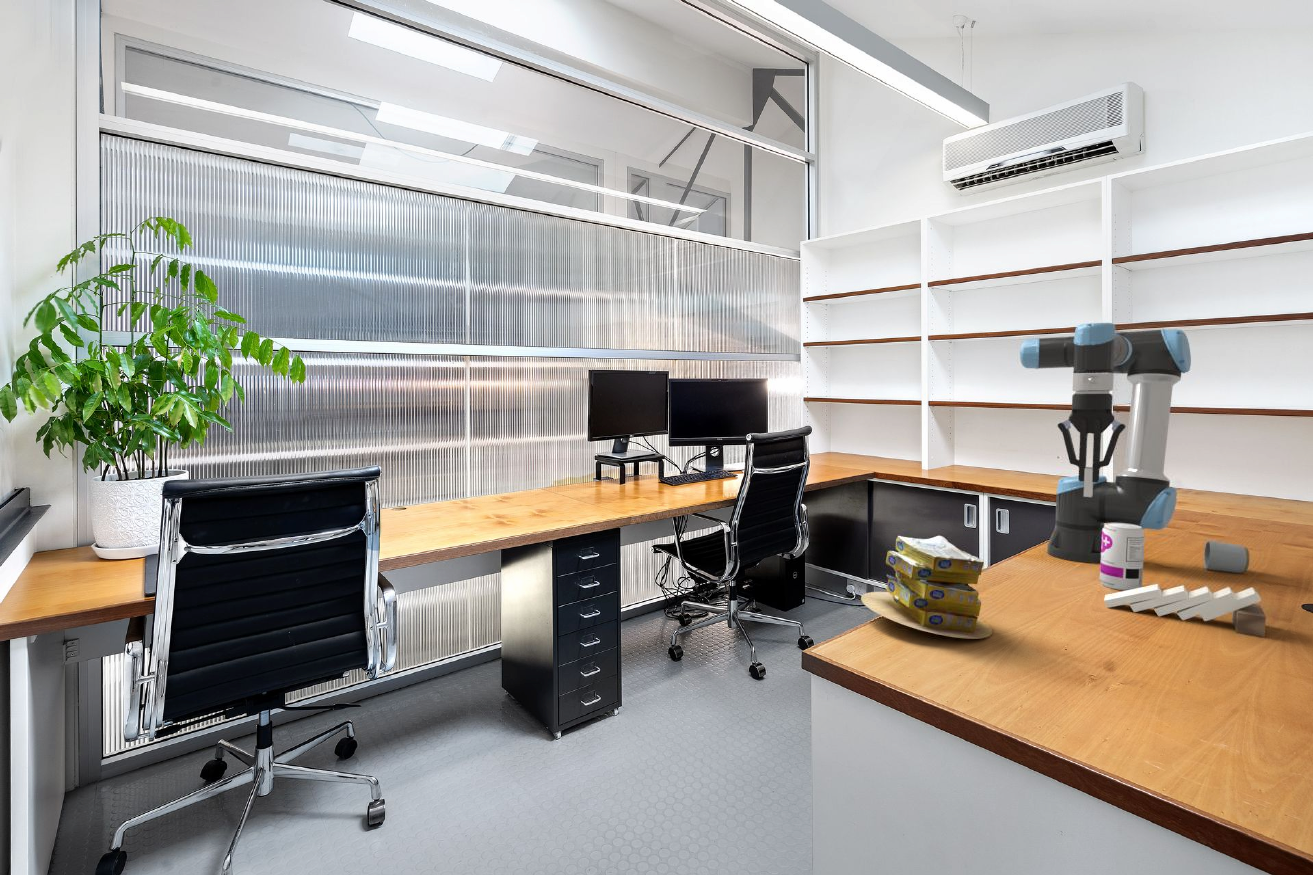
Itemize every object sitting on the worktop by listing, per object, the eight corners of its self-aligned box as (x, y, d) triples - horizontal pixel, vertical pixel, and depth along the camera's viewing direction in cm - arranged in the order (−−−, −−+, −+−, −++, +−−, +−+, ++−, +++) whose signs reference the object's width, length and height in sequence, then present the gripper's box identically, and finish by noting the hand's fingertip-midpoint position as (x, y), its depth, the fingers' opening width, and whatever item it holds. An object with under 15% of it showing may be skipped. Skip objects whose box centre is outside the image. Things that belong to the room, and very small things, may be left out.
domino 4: (1177, 613, 131) (1231, 592, 126) (1176, 607, 135) (1228, 586, 130) (1182, 620, 131) (1237, 600, 125) (1182, 613, 135) (1234, 593, 129)
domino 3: (1153, 609, 134) (1208, 592, 128) (1154, 603, 137) (1206, 586, 132) (1158, 616, 133) (1213, 599, 127) (1158, 610, 137) (1212, 593, 131)
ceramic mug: (1250, 576, 162) (1252, 547, 161) (1208, 572, 166) (1210, 543, 166) (1239, 567, 171) (1240, 539, 171) (1199, 563, 175) (1201, 536, 175)
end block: (1236, 632, 124) (1237, 612, 124) (1232, 619, 131) (1233, 600, 131) (1264, 637, 122) (1265, 616, 121) (1258, 623, 129) (1260, 604, 128)
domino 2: (1129, 605, 136) (1184, 590, 130) (1130, 599, 140) (1183, 585, 134) (1133, 612, 136) (1188, 598, 130) (1134, 606, 140) (1187, 592, 134)
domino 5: (1199, 614, 129) (1255, 593, 124) (1198, 607, 133) (1252, 587, 128) (1205, 621, 129) (1261, 600, 123) (1203, 614, 132) (1258, 594, 127)
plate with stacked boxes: (964, 604, 141) (967, 530, 140) (1014, 648, 117) (1018, 559, 115) (851, 600, 144) (852, 527, 143) (876, 642, 119) (878, 555, 118)
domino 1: (1103, 600, 139) (1157, 589, 133) (1105, 594, 143) (1157, 583, 137) (1107, 607, 139) (1161, 596, 133) (1108, 601, 142) (1161, 591, 137)
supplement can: (1102, 588, 152) (1105, 527, 151) (1097, 579, 159) (1100, 520, 158) (1144, 593, 148) (1148, 530, 147) (1137, 584, 156) (1140, 523, 154)
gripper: (1056, 393, 144) (1052, 495, 146) (1127, 392, 136) (1122, 501, 138) (1060, 392, 150) (1056, 491, 152) (1128, 392, 142) (1124, 496, 144)
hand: (1088, 495), depth 145 cm, fingers closed
